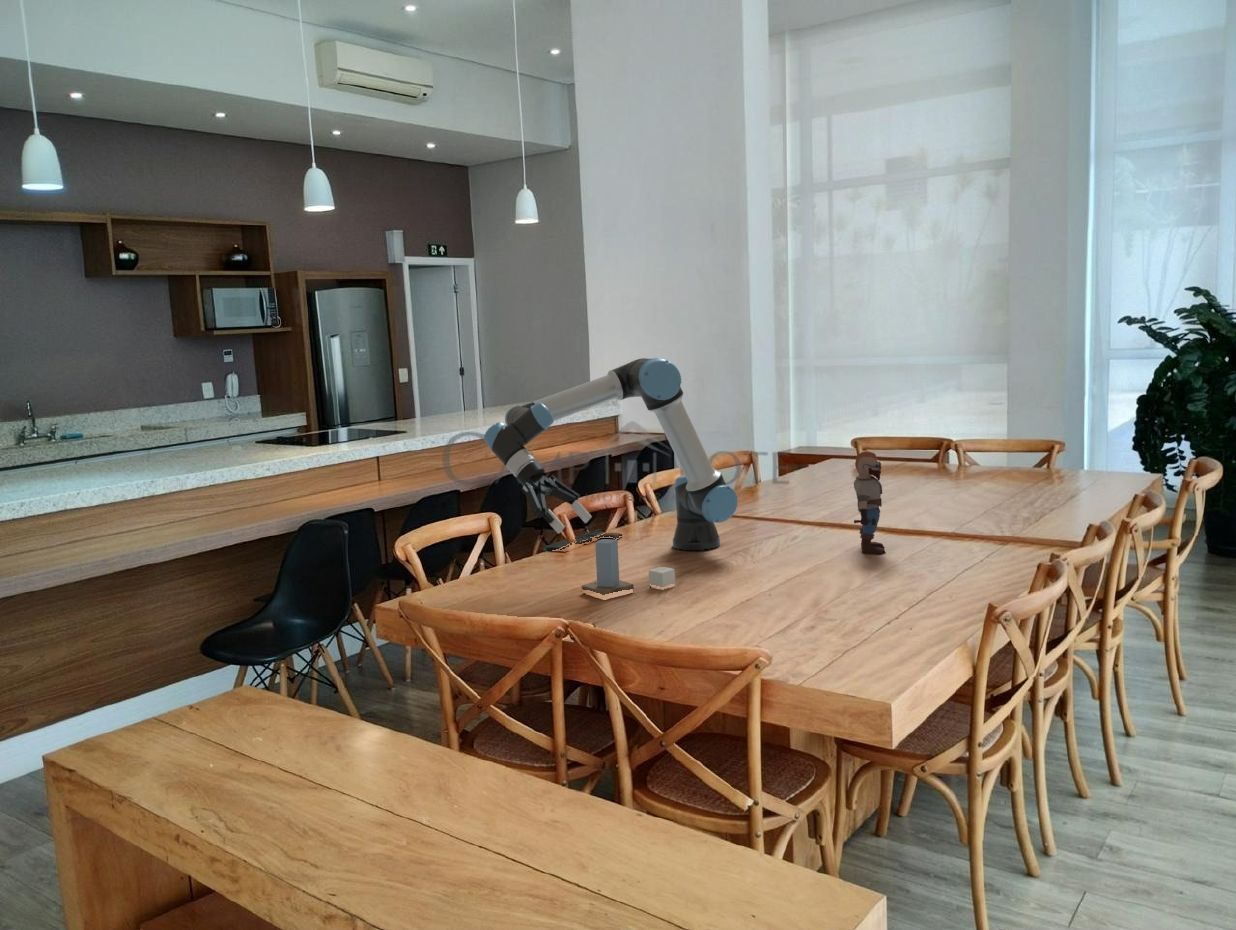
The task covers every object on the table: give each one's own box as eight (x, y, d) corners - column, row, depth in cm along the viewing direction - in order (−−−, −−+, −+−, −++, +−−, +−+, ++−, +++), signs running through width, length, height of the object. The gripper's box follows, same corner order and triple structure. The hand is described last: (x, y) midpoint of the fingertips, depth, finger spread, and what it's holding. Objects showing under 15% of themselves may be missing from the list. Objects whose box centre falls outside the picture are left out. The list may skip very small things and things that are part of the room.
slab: (612, 588, 273) (611, 577, 272) (634, 595, 265) (633, 584, 264) (582, 596, 267) (581, 585, 266) (603, 603, 259) (603, 591, 258)
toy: (887, 559, 284) (885, 456, 280) (854, 559, 286) (852, 457, 282) (882, 541, 306) (880, 446, 301) (852, 542, 307) (849, 447, 303)
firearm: (576, 550, 312) (540, 546, 321) (576, 557, 313) (540, 552, 322) (628, 531, 335) (593, 528, 344) (628, 537, 335) (593, 534, 344)
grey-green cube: (661, 584, 272) (661, 566, 271) (675, 586, 269) (674, 568, 268) (649, 588, 269) (648, 570, 268) (663, 591, 265) (662, 573, 264)
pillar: (604, 582, 268) (602, 539, 266) (619, 583, 266) (617, 539, 264) (597, 586, 264) (595, 542, 262) (612, 587, 262) (610, 543, 260)
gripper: (544, 471, 285) (591, 524, 280) (492, 486, 264) (542, 544, 259) (558, 453, 282) (606, 507, 276) (506, 467, 261) (557, 525, 255)
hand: (575, 525), depth 267 cm, fingers open, 13 cm apart
